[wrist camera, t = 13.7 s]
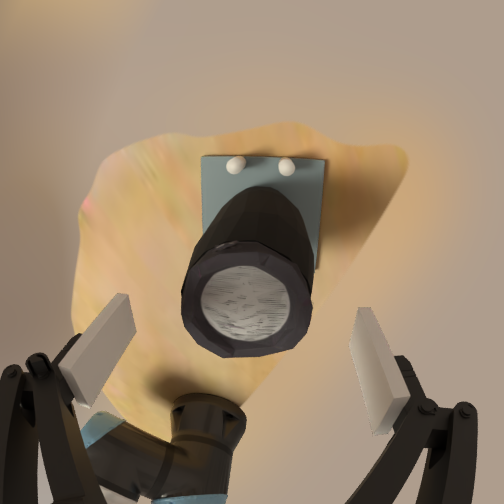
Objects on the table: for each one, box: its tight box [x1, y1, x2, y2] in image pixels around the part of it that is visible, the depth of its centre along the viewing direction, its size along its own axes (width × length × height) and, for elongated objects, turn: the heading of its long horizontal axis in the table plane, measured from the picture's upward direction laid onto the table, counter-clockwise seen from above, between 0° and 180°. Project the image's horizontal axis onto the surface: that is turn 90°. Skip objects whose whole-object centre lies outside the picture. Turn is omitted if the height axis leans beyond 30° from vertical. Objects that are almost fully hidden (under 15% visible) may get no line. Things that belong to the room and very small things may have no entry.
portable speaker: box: [181, 186, 314, 358], centre depth 25 cm, size 9×9×20 cm
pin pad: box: [201, 156, 325, 273], centre depth 33 cm, size 14×14×5 cm
